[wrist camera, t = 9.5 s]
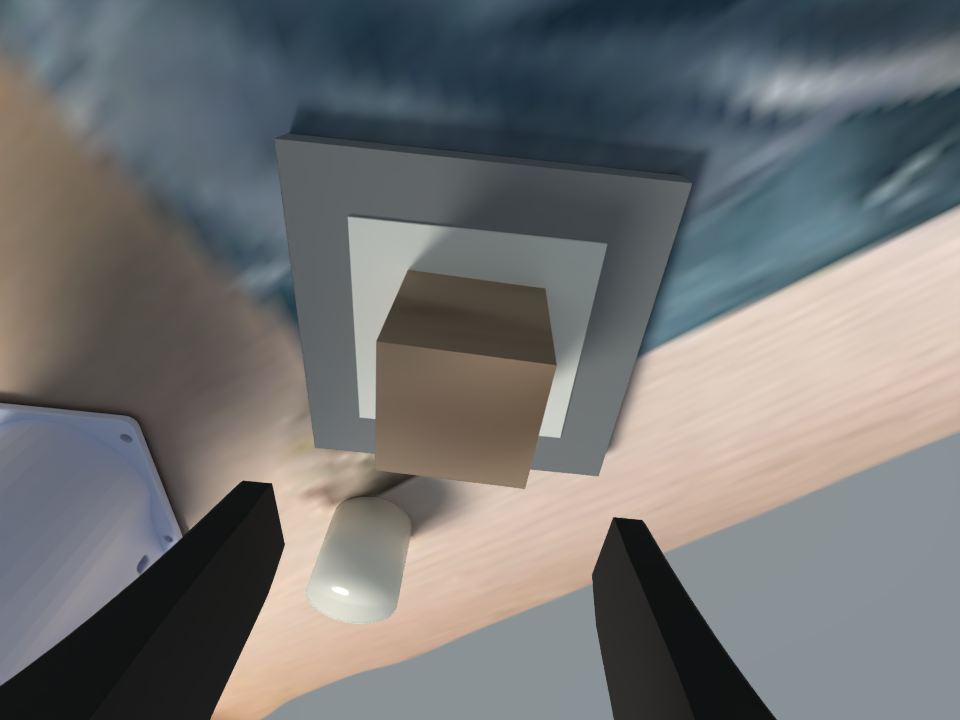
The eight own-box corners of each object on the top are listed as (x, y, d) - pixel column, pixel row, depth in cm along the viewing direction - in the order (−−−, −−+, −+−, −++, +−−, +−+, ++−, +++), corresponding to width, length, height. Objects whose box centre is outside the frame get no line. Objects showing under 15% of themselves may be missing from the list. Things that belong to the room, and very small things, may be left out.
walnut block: (521, 396, 18) (525, 489, 15) (402, 381, 18) (375, 469, 14) (545, 288, 16) (556, 365, 12) (407, 269, 16) (375, 341, 12)
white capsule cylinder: (411, 551, 26) (396, 627, 22) (336, 544, 26) (310, 619, 22) (412, 500, 24) (397, 576, 20) (330, 492, 23) (300, 567, 20)
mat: (594, 459, 21) (598, 477, 20) (322, 431, 21) (314, 449, 20) (682, 175, 15) (693, 184, 14) (287, 133, 15) (273, 139, 14)
